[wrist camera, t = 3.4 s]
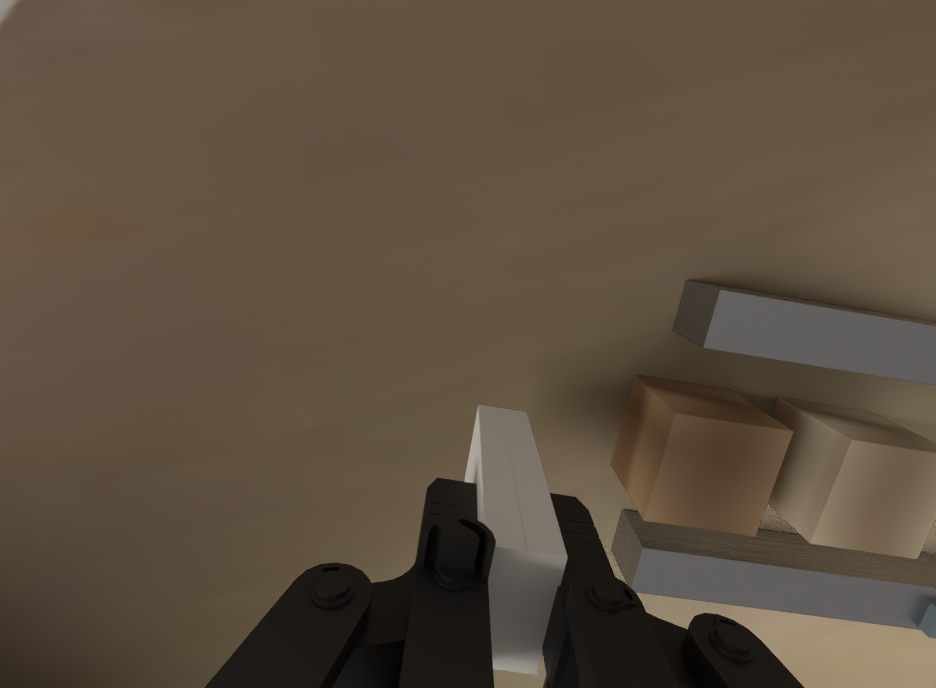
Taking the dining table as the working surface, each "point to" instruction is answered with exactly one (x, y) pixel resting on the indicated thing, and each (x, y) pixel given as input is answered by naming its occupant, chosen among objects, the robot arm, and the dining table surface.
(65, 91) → the dining table surface
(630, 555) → the slot rails
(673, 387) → the brown cube
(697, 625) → the robot arm
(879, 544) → the beige cube
